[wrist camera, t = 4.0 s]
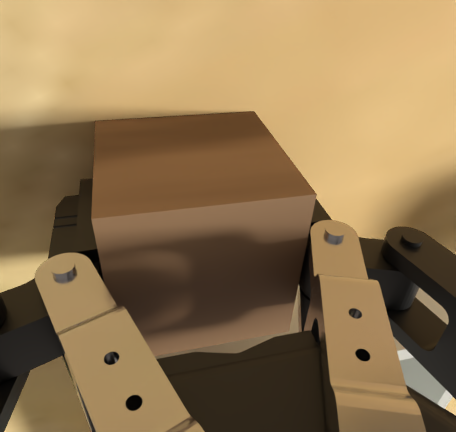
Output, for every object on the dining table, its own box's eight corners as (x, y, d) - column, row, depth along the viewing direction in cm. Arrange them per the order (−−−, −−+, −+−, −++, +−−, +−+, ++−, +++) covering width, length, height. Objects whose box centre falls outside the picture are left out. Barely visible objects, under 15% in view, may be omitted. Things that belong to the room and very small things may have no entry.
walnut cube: (95, 120, 12) (91, 218, 8) (254, 111, 13) (316, 194, 9) (116, 246, 15) (120, 362, 11) (244, 230, 16) (289, 331, 12)
